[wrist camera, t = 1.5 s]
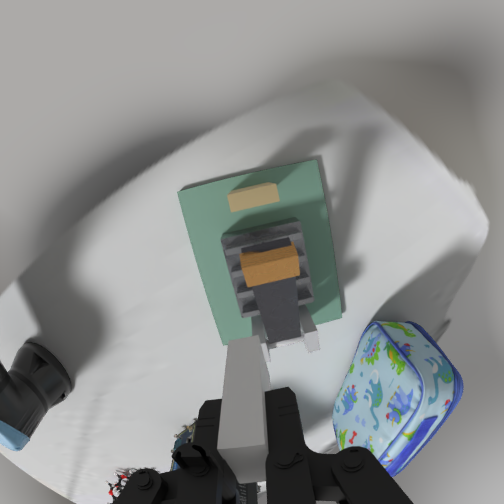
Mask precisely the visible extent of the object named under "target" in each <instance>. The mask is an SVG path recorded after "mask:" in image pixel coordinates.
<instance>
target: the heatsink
mask: <svg viewBox="0 0 504 504" xmlns="http://www.w3.org/2000/svg"><path fill="white" fill-rule="evenodd" d="M287 237H289V238H290V241H291V242H294V245H295V248H296V251H297V254H298V259H299V270H300V275H299V276H295V277H296V286H297V296H298V306H300V305H304V304H308V303H312V302H313V301H315V300H314V294H313V288H312V282H311V276H310V270H309V264H308V259H307V253H306V248H305V243H304V237H303V232H302V227H301V222H300V220H298V219H297V218H296V217H293V218H288V219H284V220H279V221H275V222H271V223H266V224H262V225H258V226H254V227H249V228H245V229H241V230H237V231H232V232H228V233H224V234H222V236H221V239H220V241H221V244H222V248H223V252H224V256H225V259H226V263H227V267H228V270H229V274H230V278H231V281H232V285H233V288H234V292H235V296H236V299H237V303H238V306H239V310H240V313H241V317H242V318H247V317H252V316H257V315H260V312H259V309H258V305H257V302H256V299H255V296H254V293H253V289H252V287H247V284H246V281H245V278H244V275H243V271H242V268H241V262H240V255H239V254H241V253H242V252H241V248H244V247H248V246H252V245H257V244H261V243H265V242H269V241H274V240H278V239H282V238H287Z"/></svg>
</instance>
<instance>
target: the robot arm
mask: <svg viewBox="0 0 504 504" xmlns="http://www.w3.org/2000/svg"><path fill="white" fill-rule="evenodd" d="M70 391H71V382H70V379H69V377H68V375H67V373H66V371H65V369H64V368H63V366H62V365H61V364H60V363H59V361H58V360H57V359H56V358H55V357H54V356H53V355H52V354H51V353H50V352H49V351H47V350H46V349H45V348H43V347H41V346H39V345H37V344H35V343H26V344H24V345H23V346H22V347H21V348H20V349H19V350H18V352H17V354H16V356H15V359H14V361H13V364H12V366H11V369H10V370H9V371H8V372H7V371H6V369H5V367H4V366H3V364H2V363H1V361H0V444H2V445H3V446H5V447H7V448H9V449H11V450H13V451H20V450H22V449H23V447H24V446H25V445H26V444H27V442H28V441H30V438H31V436H32V434H33V433H34V431H35V430H36V428H37V427H38V425H39V423H40V422H41V420H42V419H43V417H44V416H45V414H46V413H47V411H48V410H49V409H50V408H52V407H54V406H55V405H57V404H59V403H60V402H62V401H64V400H65V399H66V398H67V396H68V395H69V393H70ZM172 458H173V459H174V461H175V462H176V463H177V464H178V465H179V466H180V468H179V469H177V470H174V471H169V472H165V473H161V474H159V473H158V472H157V471H155V470H153V469H147V468H145V469H140V470H138V471H136V472H134V473H133V475H132V476H131V477H130V478H129V480H128V481H127V483H126V485H125V486H124V488H123V490H122V491H121V493H120V494H119V496H118V498H117V499H116V501H115V502H114V504H240V495H239V491H238V490H237V489H236V479H237V480H238V482H239V483H240V484H242V483H253V482H262V481H266V489H267V504H316V500H317V501H336V503H337V504H413V502H412V501H411V500H410V499H409V498H408V496H407V495H406V494H405V493H404V492H403V490H402V489H401V488H400V487H399V485H398V484H397V483H396V482H395V481H394V479H393V478H392V477H391V476H390V474H389V473H388V472H387V471H386V470H385V468H384V467H383V466H382V465H381V463H380V462H379V461H378V460H377V458H376V457H375V456H374V455H373V453H372V452H371V451H369V450H368V449H367V448H364V447H361V446H351V447H348V448H345V449H343V450H341V451H340V452H338V453H337V454H321V453H316V452H314V451H312V450H310V449H309V448H308V447H307V446H306V444H305V440H304V435H303V430H302V425H301V419H300V414H299V410H298V405H297V400H296V396H295V393H294V392H293V391H292V390H291V389H290V388H289V387H285V388H280V389H275V390H271V386H270V376H269V372H268V368H267V365H266V361H265V357H264V354H263V350H262V346H261V343H260V339H259V335H256V336H251V337H246V338H240V339H235V340H230V341H228V350H227V359H226V368H225V377H224V386H223V396H222V399H216V400H207V401H205V402H204V404H203V405H202V407H201V408H200V410H199V415H198V421H197V428H196V432H195V437H194V442H189V443H185V444H183V445H181V446H179V447H178V448H177V449H176V450H175V451H174V452H173V454H172Z"/></svg>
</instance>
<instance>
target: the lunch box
mask: <svg viewBox="0 0 504 504" xmlns="http://www.w3.org/2000/svg"><path fill="white" fill-rule="evenodd" d="M462 393H463V380H462V377H461V375H460V374H459V372H458V371H457V369H456V368H455V367H454V366H453V365H452V363H451V362H450V361H449V359H448V358H447V356H446V355H445V354H444V352H443V351H442V350H441V349H440V347H439V346H438V345H437V343H436V342H435V341H434V340H433V339H432V337H431V336H430V335H429V334H428V333H427V332H426V331H425V330H424V329H423V328H422V327H421V326H420V325H418V324H416V323H414V322H411V321H407V322H405V323H403V322H382V321H374V322H373V323H371V324H370V325H369V326H368V327H367V328H366V330H365V331H364V332H363V334H362V336H361V339H360V341H359V344H358V347H357V350H356V353H355V356H354V359H353V361H352V364H351V367H350V369H349V371H348V374H347V375H346V377H345V380H344V383H343V385H342V387H341V389H340V392H339V394H338V396H337V398H336V400H335V404H334V409H333V415H332V419H333V426H334V431H335V435H336V439H337V443H338V446H339V450H340V451H341V450H343V449H345V448H348V447H351V446H361V447H364V448H367V449H368V450H369V451H371V452H372V453H373V455H374V456H375V457H376V458H377V460H378V461H379V462H380V463H381V465H382V466H383V467H384V468H385V470H386V471H387V472H388V473H389V474H390V476H391V477H393V476H396V475H397V474H398V473H400V472H401V471H402V470H403V469H404V468H405V467H406V466H407V465H408V464H409V463H410V461H411V460H412V459H413V458H414V457H415V456H416V455H417V454H418V453H419V452H420V451H421V450H422V448H423V447H424V446H425V445H426V444H427V443H428V442H429V441H430V439H431V438H432V437H433V436H434V435H435V434H436V432H437V431H438V430H439V428H440V427H441V426H442V425H443V423H444V422H445V421H446V420H447V418H448V417H449V415H450V414H451V413H452V411H453V410H454V408H455V407H456V406H457V404H458V402H459V401H460V399H461V396H462Z"/></svg>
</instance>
